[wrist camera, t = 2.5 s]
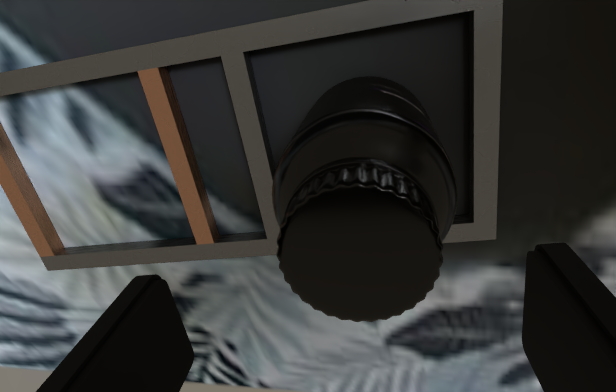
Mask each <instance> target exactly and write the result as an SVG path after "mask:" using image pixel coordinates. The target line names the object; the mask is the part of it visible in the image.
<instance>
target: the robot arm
mask: <svg viewBox="0 0 616 392" xmlns="http://www.w3.org/2000/svg"><path fill="white" fill-rule="evenodd" d="M522 344H523V348H524V351H525V354H526V356H527V358H528V360H529V362H530V364H531V366H532V368H533V370H534V372H535V374H536V376H537V378H538V380H539V382H540V384H541V386H542V389H543V391H544V392H616V297H615V296H614V295H613V294H612V293H611V292H610V291H609V290H608V289H607V287H606V286H605V285H604V284H603V283H602V282H601V281H600V280H599V279H598V278H597V276H596V275H595V274H594V273H593V272H592V271H591V270H590V269H589V268H588V267H587V265H586V264H585V263H584V262H583V261H582V260H581V259H580V258H579V257H578V256H577V254H576V253H575V252H574V251H573V250H572V249H571V248H570V247H569V246H568V245H567V244H566V243H551V244H538V245H536V247H535V250H534V251H529V252H528V253H527V260H526V277H525V294H524V310H523V327H522ZM193 360H194V352H193V348H192V346H191V343H190V341H189V338H188V335H187V333H186V330H185V328H184V325H183V323H182V320H181V317H180V315H179V312H178V310H177V307H176V304H175V302H174V299H173V297H172V294H171V291H170V289H169V286H168V284H167V282H166V281H165V280H164V279H161V277H160V276H159V275H156V274H155V275H143V276H136V277H135V278H134V279H133V280H132V281H131V282H130V283H129V284H128V285H127V287H126V288H125V289H124V290H123V291H122V292H121V293H120V295H119V296H118V297H117V298H116V299H115V300H114V302H113V303H112V304H111V305H110V306H109V307H108V309H107V310H106V311H105V312H104V313H103V314H102V316H101V317H100V318H99V319H98V320H97V321H96V323H95V324H94V325H93V326H92V327H91V328H90V330H89V331H88V332H87V333H86V334H85V335H84V336H83V338H82V339H81V340H80V341H79V342H78V343H77V345H76V346H75V347H74V348H73V349H72V350H71V352H70V353H69V354H68V355H67V356H66V357H65V359H64V360H63V361H62V362H61V363H60V364H59V366H58V367H57V368H56V369H55V370H54V371H53V372H52V374H51V375H50V376H49V377H48V378H47V379H46V381H45V382H44V383H43V384H42V385H41V386H40V388H39V389H38V390H37V391H36V392H179V391H180V389H181V387H182V385H183V383H184V381H185V379H186V377H187V375H188V372H189V370H190V368H191V366H192V364H193Z"/></svg>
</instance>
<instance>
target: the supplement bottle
mask: <svg viewBox="0 0 616 392" xmlns="http://www.w3.org/2000/svg"><path fill="white" fill-rule="evenodd" d="M272 203H273V209H274V213H275V217H276V220H277V223H278V225H279V227H280V232H279V235H278V237H277V245H278V250H277V254H276V255H277V257H278V259H279V261H280V264H279V268H280V270H281V271H282V272H283V273H284V279H285V281H286V282H287V283H289V284H290V285H291V288H292V291H293V292H295V293H296V294H298V295H299V296H300V298H301V299H302V301H304V302H306V303H308V304H310V305H311V306H312V307H313V308H314V309H315V310H319V311H322V312H323V313H325V314H326V315H327V316H335V317H337V318H339V319H341V320H352V321H355V322H360V321H369V322H373V321H376V320H378V319H382V320H386V319H388V318H390V317H392V316H397V315H401V314H402V313H403V312H404V311H405V310H409V309H412V308H414V307H415V305H416V304H417V303H418V302H420V301H422V300H424V299H425V297H426V294H427V293H428V292H429V291H431V290H432V289H433V287H434V282H435V280H436V279H438V277H439V276H440V271H439V268H440V267H441V265H442V263H443V257H442V253H441V252H442V249H443V244H442V242H443V240H444V239H445V237H446V235H447V234H448V232H449V230H450V228H451V225H452V223H453V220H454V216H455V212H456V207H457V185H456V179H455V176H454V172H453V169H452V166H451V163H450V161H449V158H448V156H447V154H446V152H445V150H444V148H443V146H442V144H441V142H440V140H439V138H438V136H437V133H436V131H435V129H434V127H433V125H432V123H431V121H430V119H429V117H428V115H427V113H426V111H425V110H424V108H423V106H422V105H421V103H420V102H419V100H418V99H417V98H416V97H415V96H414V95H413V94H412V93H411V92H410V91H409V90H407V89H406V88H405V87H403V86H401V85H400V84H398V83H396V82H394V81H391V80H388V79H385V78H380V77H371V76H366V77H357V78H352V79H349V80H346V81H343V82H341V83H339V84H337V85H335V86H334V87H332V88H331V89H329V90H328V91H327V92H326V93H324V94H323V95H322V96H321V97H320V99H319V100H318V101H317V102H316V103H315V105H314V106H313V108H312V109H311V111H310V112H309V114H308V115H307V117H306V118H305V120H304V121H303V123H302V124H301V126H300V127H299V129H298V130H297V132H296V134H295V135H294V137H293V138H292V140H291V141H290V143H289V144H288V146H287V147H286V149H285V151H284V153H283V154H282V156H281V158H280V161H279V163H278V166H277V168H276V171H275V175H274V179H273V185H272Z"/></svg>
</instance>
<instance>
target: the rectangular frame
mask: <svg viewBox="0 0 616 392" xmlns="http://www.w3.org/2000/svg"><path fill="white" fill-rule="evenodd" d="M465 11H469V145H470V214H469V215H457V216H454V220H453V223H452V225H451V228H450V230H449V232H448V234H447V235H446V237H445V239H444V240H443V242H442V243H452V242H466V241H481V240H495V239H496V227H497V192H498V157H499V122H500V87H501V52H502V17H503V0H369V1H364V2H359V3H354V4H349V5H344V6H339V7H333V8H328V9H323V10H318V11H313V12H308V13H303V14H298V15H293V16H288V17H283V18H277V19H272V20H267V21H262V22H257V23H252V24H247V25H242V26H237V27H232V28H227V29H221V30H216V31H211V32H206V33H201V34H196V35H191V36H186V37H181V38H176V39H171V40H165V41H160V42H155V43H150V44H145V45H140V46H135V47H130V48H125V49H120V50H115V51H109V52H104V53H99V54H94V55H89V56H84V57H79V58H74V59H69V60H64V61H59V62H53V63H48V64H43V65H38V66H33V67H28V68H23V69H18V70H13V71H8V72H3V73H0V96H4V95H9V94H15V93H20V92H26V91H31V90H37V89H42V88H48V87H53V86H59V85H64V84H70V83H75V82H81V81H86V80H92V79H97V78H103V77H108V76H114V75H119V74H125V73H130V72H136V71H138V74H139V77H140V80H141V83H142V86H143V89H144V92H145V95H146V98H147V101H148V103H149V106H150V109H151V112H152V115H153V118H154V121H155V124H156V127H157V130H158V133H159V135H160V138H161V141H162V144H163V147H164V150H165V153H166V156H167V159H168V162H169V165H170V167H171V170H172V173H173V176H174V179H175V182H176V185H177V188H178V191H179V194H180V197H181V199H182V202H183V205H184V208H185V211H186V214H187V217H188V220H189V223H190V226H191V229H192V231H193V234H194V237H191V238H179V239H167V240H155V241H143V242H131V243H119V244H106V245H94V246H82V247H70V248H64V247H63V245H62V243H61V241H60V239H59V237H58V235H57V233H56V231H55V229H54V227H53V225H52V223H51V221H50V219H49V217H48V215H47V213H46V211H45V209H44V207H43V205H42V204H41V202H40V200H39V198H38V196H37V194H36V192H35V190H34V188H33V186H32V184H31V182H30V180H29V178H28V176H27V174H26V172H25V170H24V168H23V166H22V164H21V162H20V160H19V159H18V157H17V155H16V153H15V151H14V149H13V147H12V145H11V143H10V141H9V139H8V137H7V135H6V133H5V131H4V129H3V127H2V125H1V123H0V184H1V186H2V188H3V190H4V192H5V193H6V195H7V197H8V199H9V201H10V203H11V204H12V206H13V208H14V210H15V212H16V214H17V215H18V217H19V219H20V221H21V223H22V225H23V226H24V228H25V230H26V232H27V234H28V236H29V237H30V239H31V241H32V243H33V245H34V246H35V248H36V250H37V252H38V254H39V256H40V257H41V259H42V261H43V263H44V265H45V267H46V268H47V270H48V271H50V270H64V269H79V268H93V267H107V266H122V265H136V264H150V263H165V262H179V261H193V260H208V259H222V258H237V257H251V256H265V255H276V254H277V250H278V245H277V237H278V235H279V232H280V227H279V225H278V223H277V220H276V217H275V213H274V209H273V203H272V185H273V179H274V175H275V166H274V162H273V157H272V153H271V148H270V144H269V139H268V135H267V131H266V126H265V122H264V117H263V113H262V108H261V104H260V99H259V95H258V91H257V86H256V82H255V77H254V73H253V68H252V64H251V60H250V55H249V51H251V50H257V49H262V48H268V47H273V46H279V45H284V44H290V43H295V42H301V41H306V40H312V39H317V38H323V37H328V36H334V35H339V34H345V33H350V32H356V31H361V30H367V29H372V28H378V27H383V26H389V25H394V24H400V23H405V22H411V21H416V20H422V19H427V18H433V17H438V16H443V15H449V14H454V13H460V12H465ZM218 56H221V59H222V63H223V67H224V71H225V75H226V79H227V82H228V86H229V90H230V94H231V98H232V102H233V106H234V110H235V114H236V118H237V122H238V126H239V130H240V134H241V138H242V141H243V145H244V149H245V153H246V157H247V161H248V165H249V169H250V173H251V177H252V181H253V185H254V189H255V193H256V196H257V200H258V204H259V208H260V212H261V216H262V220H263V224H264V228H265V231H264V232H252V233H239V234H227V235H219V232H218V229H217V226H216V223H215V219H214V216H213V213H212V210H211V207H210V203H209V200H208V197H207V194H206V191H205V187H204V184H203V181H202V178H201V175H200V171H199V168H198V165H197V162H196V159H195V155H194V152H193V149H192V146H191V143H190V139H189V136H188V133H187V130H186V127H185V123H184V120H183V117H182V114H181V111H180V107H179V104H178V101H177V98H176V95H175V91H174V88H173V85H172V82H171V78H170V75H169V72H168V69H167V66H169V65H174V64H180V63H185V62H191V61H196V60H202V59H207V58H213V57H218Z"/></svg>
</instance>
